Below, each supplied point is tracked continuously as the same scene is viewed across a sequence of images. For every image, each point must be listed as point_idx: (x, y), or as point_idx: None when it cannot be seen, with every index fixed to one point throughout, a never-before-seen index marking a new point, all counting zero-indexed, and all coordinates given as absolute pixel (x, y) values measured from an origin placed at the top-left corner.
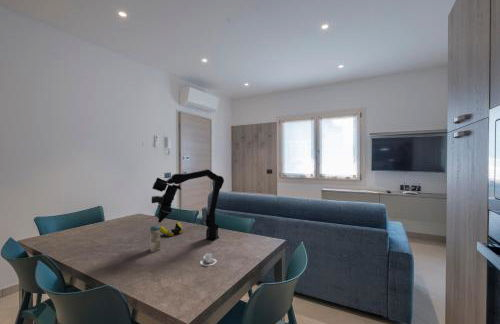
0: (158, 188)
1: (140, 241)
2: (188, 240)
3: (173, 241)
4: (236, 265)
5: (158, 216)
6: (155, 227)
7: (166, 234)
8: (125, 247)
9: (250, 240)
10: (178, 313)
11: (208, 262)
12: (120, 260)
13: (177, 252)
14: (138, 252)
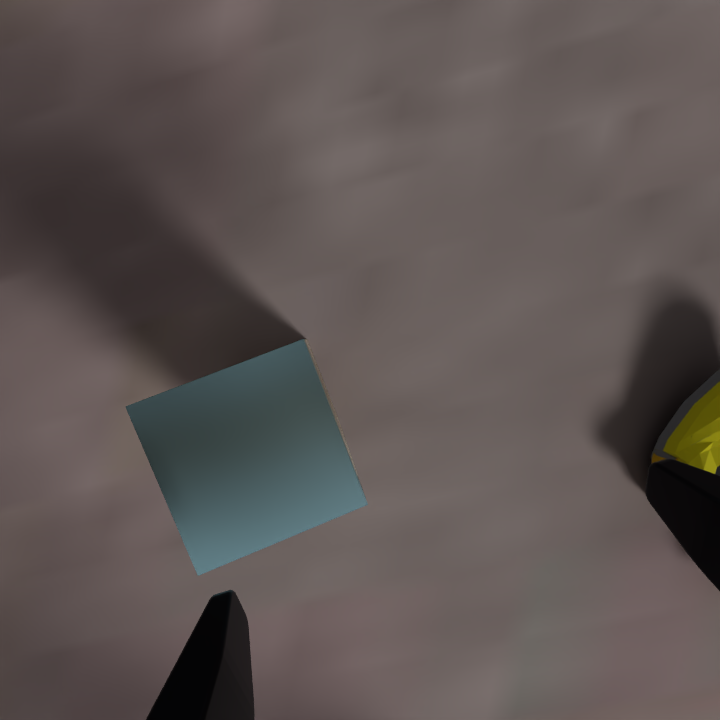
0: None
1: (557, 176)
2: (483, 690)
3: (485, 537)
4: None
5: (695, 499)
6: (200, 483)
7: (667, 436)
8: (403, 61)
9: None
10: None
11: None
12: (42, 115)
13: (157, 642)
14: (230, 241)
